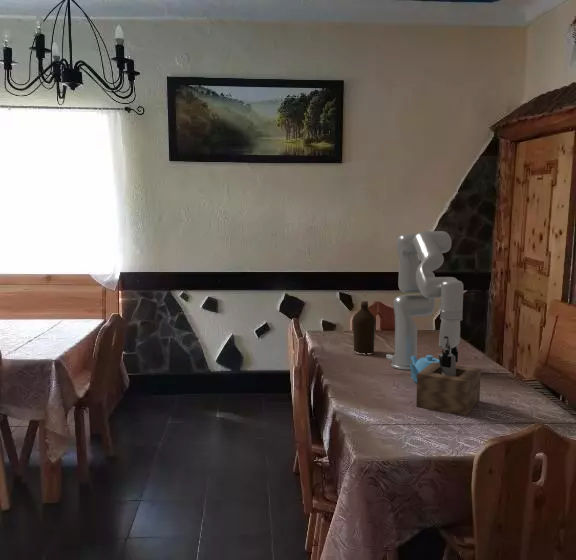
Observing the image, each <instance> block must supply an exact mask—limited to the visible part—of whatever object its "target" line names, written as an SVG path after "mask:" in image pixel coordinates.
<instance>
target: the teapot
mask: <svg viewBox="0 0 576 560" xmlns="http://www.w3.org/2000/svg"><path fill="white" fill-rule="evenodd" d="M411 359H412V363H413V364H410V373H411V374H410V377H411V379H412V381H413V382H414V383H416V384H417V374H418V373H419V372H421V371H422V370H423V369H425V368H426V367H428V366H429V365H430V364H432V363H433V362H435V363H440V362H439V358H436V357H434V356H433V355H432V354H431V355H430V354H427V355H425V357H420V358H419V359H418V358H416V356H411Z"/></svg>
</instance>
